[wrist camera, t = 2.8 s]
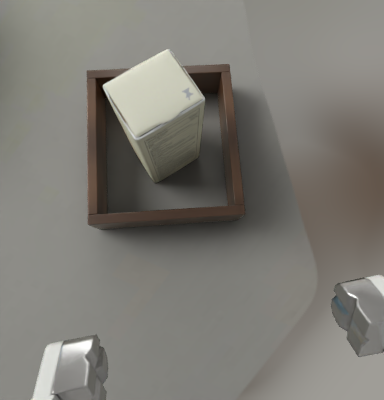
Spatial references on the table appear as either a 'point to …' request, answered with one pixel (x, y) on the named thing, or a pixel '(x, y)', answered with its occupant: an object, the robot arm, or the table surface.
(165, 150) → the box
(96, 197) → the crate
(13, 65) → the table surface
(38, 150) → the table surface
